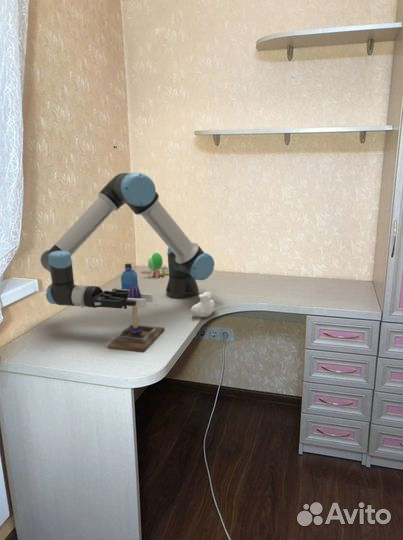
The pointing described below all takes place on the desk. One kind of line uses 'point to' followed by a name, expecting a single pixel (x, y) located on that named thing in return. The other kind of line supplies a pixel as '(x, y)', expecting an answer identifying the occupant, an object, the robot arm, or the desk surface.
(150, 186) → the robot arm
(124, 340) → the plate
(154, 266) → the green toy tree
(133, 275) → the perfume bottle
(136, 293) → the toy lamp
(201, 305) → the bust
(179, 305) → the desk surface
